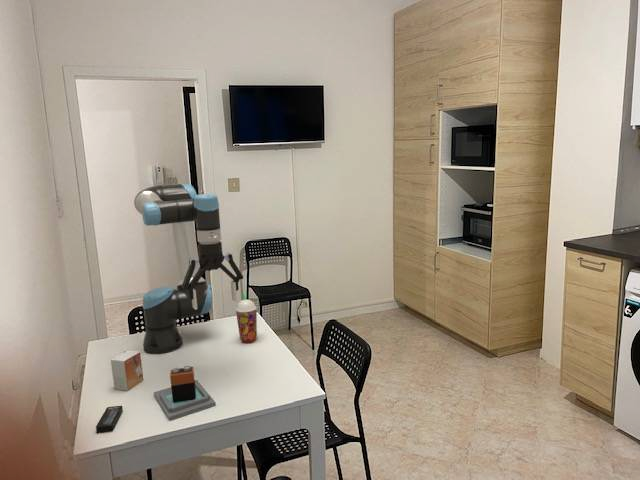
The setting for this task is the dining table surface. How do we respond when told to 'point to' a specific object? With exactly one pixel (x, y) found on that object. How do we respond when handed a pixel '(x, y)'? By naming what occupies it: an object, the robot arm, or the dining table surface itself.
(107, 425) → the multiport hub
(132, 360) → the small box
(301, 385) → the dining table surface
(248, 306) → the smoothie
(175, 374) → the battery
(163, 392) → the dock
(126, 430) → the dining table surface
